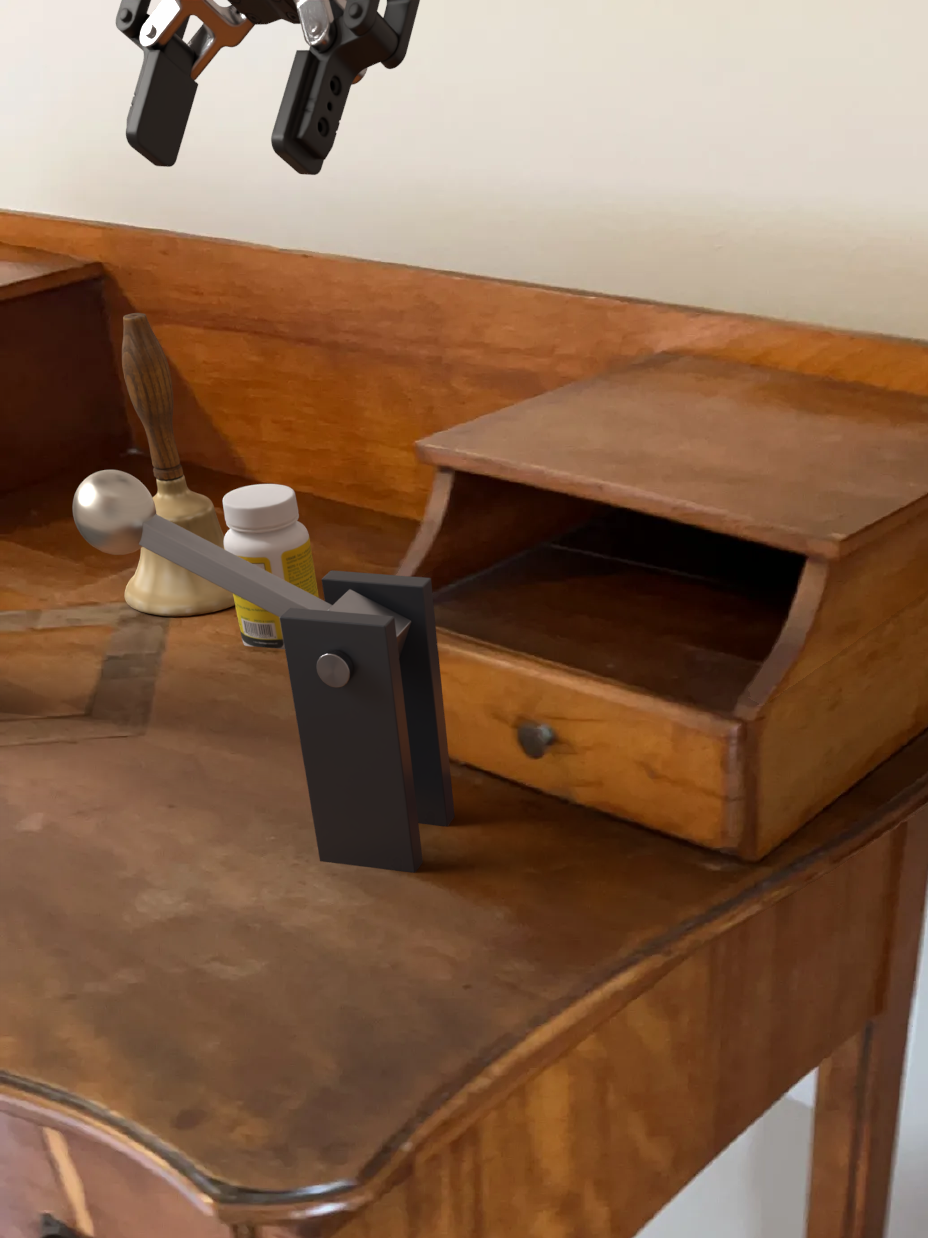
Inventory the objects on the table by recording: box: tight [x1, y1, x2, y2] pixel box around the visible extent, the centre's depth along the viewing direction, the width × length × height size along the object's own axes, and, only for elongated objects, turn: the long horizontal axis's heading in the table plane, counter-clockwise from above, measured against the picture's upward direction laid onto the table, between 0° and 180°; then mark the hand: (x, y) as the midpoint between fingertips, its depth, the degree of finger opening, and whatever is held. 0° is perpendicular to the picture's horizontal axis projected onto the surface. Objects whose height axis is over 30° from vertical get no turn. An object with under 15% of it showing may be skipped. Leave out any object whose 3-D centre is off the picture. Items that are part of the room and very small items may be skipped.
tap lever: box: [72, 469, 411, 657], centre depth 61 cm, size 14×3×3 cm, turn 75°
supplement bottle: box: [222, 483, 320, 650], centre depth 86 cm, size 5×5×8 cm
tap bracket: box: [280, 570, 456, 874], centre depth 64 cm, size 8×8×13 cm
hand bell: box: [121, 312, 235, 617], centre depth 91 cm, size 8×8×16 cm
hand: (218, 160), depth 62 cm, fingers open, 8 cm apart
